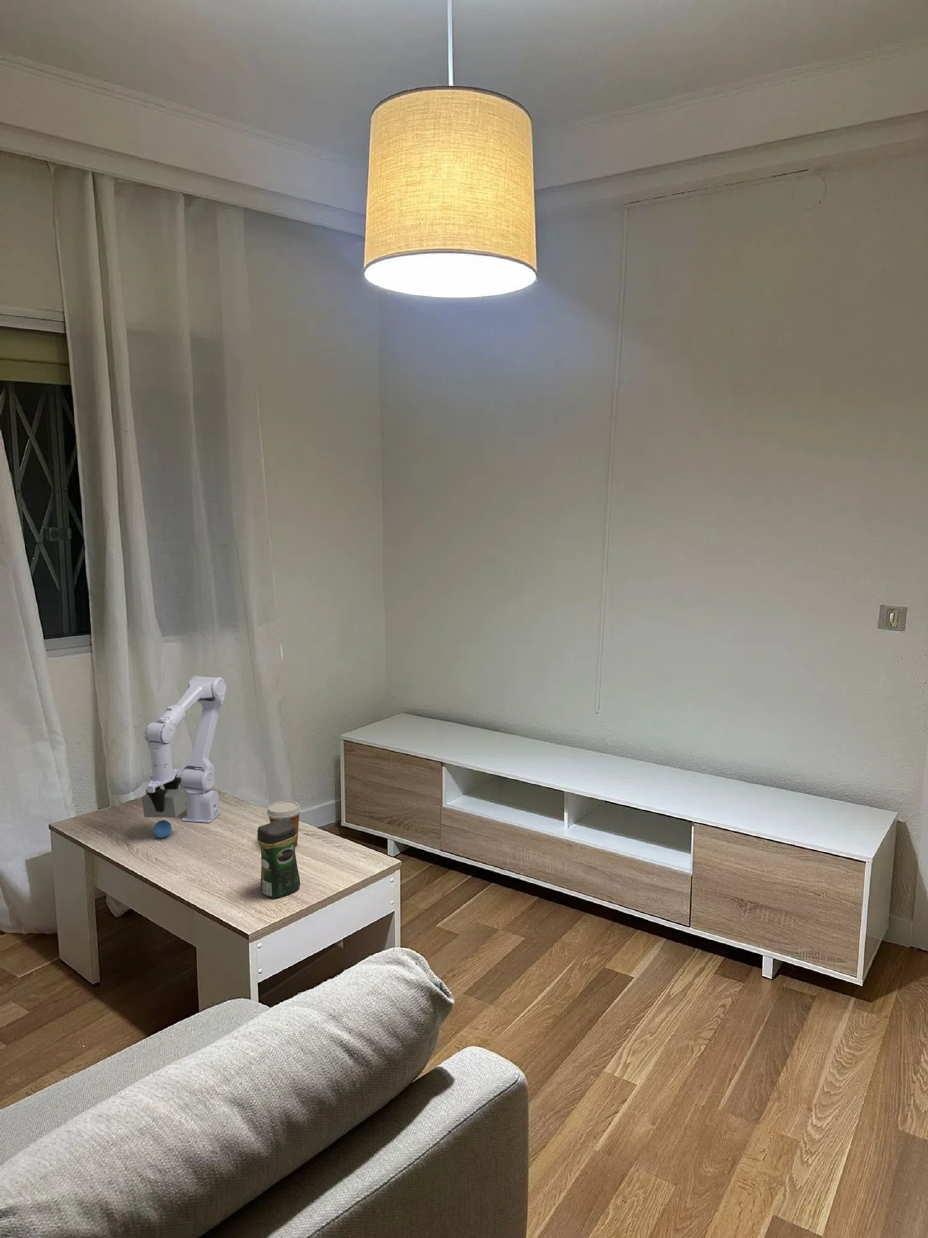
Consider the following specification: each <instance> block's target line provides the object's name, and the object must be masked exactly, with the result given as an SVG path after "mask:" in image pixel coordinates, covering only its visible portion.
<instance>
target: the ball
mask: <svg viewBox="0 0 928 1238" xmlns="http://www.w3.org/2000/svg"><path fill="white" fill-rule="evenodd" d="M172 828H173V827H172V824H171V823H170V822H169V821H168V820H165V819H161V820H159V821H157V822H155V824H154V827H153V832H154V834H155V836H156V837H158V838H161V839H162V838H166V837H169V835H170V834H171V833H172V831H173V830H172Z"/></svg>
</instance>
